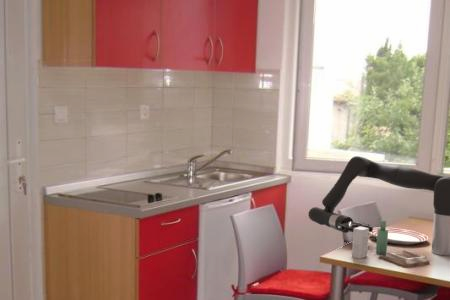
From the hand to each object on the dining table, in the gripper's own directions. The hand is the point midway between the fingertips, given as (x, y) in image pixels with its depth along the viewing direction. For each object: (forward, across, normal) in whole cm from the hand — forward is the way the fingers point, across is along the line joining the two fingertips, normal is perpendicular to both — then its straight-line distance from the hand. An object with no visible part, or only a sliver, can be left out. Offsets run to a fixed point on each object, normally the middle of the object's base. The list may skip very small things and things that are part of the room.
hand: (364, 230), depth 263 cm
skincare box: (+12, -13, +8) cm, 19 cm away
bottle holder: (+24, 0, +8) cm, 25 cm away
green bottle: (+11, 0, +8) cm, 13 cm away
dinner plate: (-6, +26, +8) cm, 28 cm away
